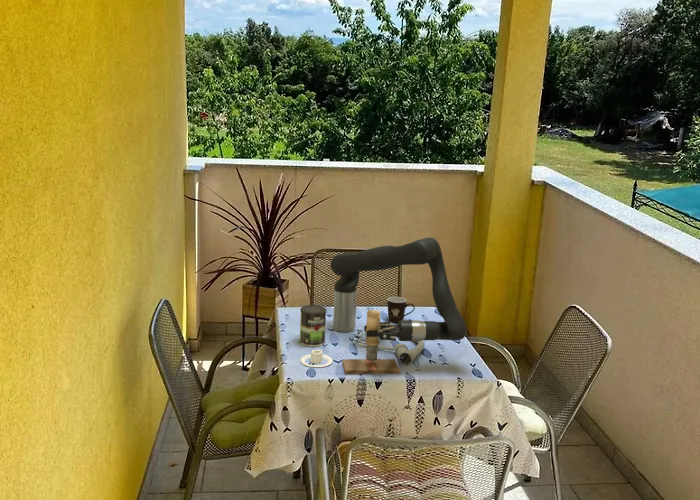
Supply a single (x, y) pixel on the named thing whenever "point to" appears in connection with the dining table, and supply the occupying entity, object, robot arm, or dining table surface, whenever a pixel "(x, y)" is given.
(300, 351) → the dining table surface
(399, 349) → the faucet
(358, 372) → the board
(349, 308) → the robot arm
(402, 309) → the coffee mug
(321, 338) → the coffee can
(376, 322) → the tan grey cylinder
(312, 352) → the candle holder
